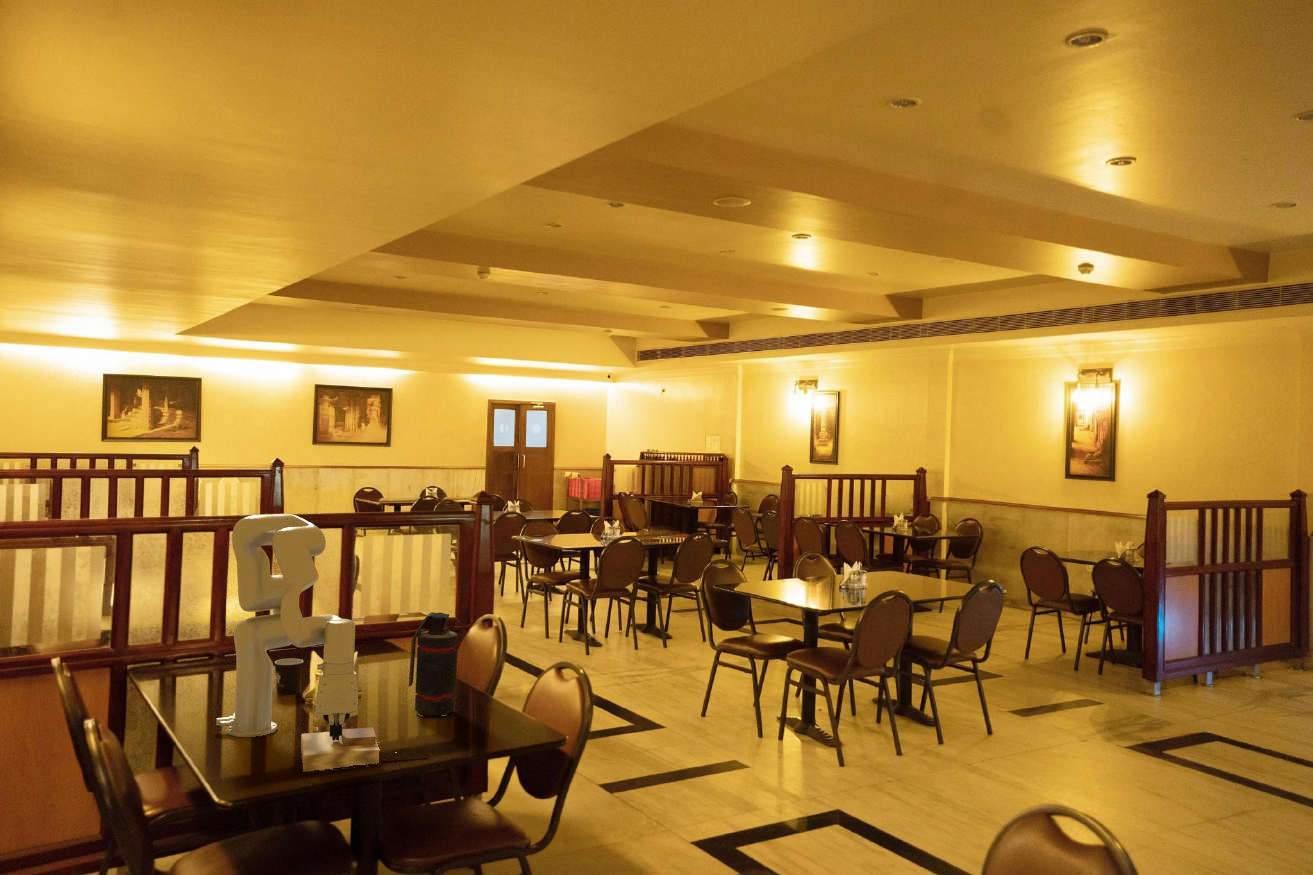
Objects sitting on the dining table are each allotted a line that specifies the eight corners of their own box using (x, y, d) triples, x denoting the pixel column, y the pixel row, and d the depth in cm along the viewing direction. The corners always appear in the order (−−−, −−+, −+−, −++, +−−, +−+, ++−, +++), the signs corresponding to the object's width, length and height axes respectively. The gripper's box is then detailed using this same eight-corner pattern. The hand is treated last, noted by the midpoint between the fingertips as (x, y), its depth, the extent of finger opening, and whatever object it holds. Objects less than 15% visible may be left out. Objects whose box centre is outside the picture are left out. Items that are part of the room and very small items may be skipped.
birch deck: (303, 771, 238) (304, 755, 238) (300, 748, 254) (301, 733, 254) (378, 765, 244) (379, 749, 244) (371, 743, 261) (372, 728, 261)
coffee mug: (302, 695, 304) (303, 664, 304) (273, 697, 301) (274, 665, 301) (301, 686, 315) (302, 655, 315) (273, 687, 312) (274, 657, 312)
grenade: (457, 708, 298) (462, 611, 298) (450, 719, 286) (455, 618, 286) (412, 706, 297) (417, 609, 298) (404, 717, 286) (408, 616, 286)
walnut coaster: (342, 746, 246) (343, 738, 246) (341, 736, 253) (341, 729, 253) (375, 744, 248) (375, 736, 248) (373, 734, 256) (373, 727, 256)
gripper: (308, 672, 243) (305, 745, 243) (369, 669, 248) (366, 741, 248) (307, 665, 250) (304, 736, 250) (367, 663, 255) (364, 732, 255)
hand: (335, 738), depth 249 cm, fingers closed
